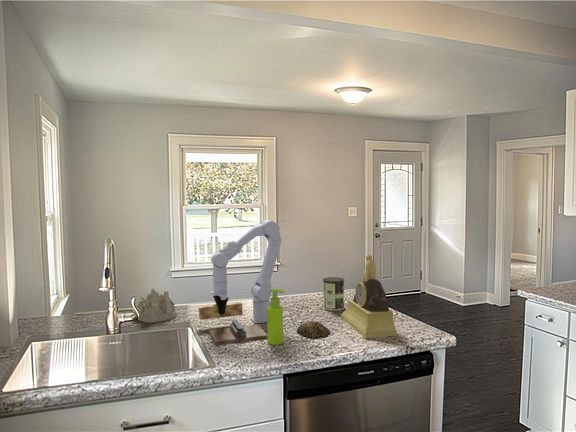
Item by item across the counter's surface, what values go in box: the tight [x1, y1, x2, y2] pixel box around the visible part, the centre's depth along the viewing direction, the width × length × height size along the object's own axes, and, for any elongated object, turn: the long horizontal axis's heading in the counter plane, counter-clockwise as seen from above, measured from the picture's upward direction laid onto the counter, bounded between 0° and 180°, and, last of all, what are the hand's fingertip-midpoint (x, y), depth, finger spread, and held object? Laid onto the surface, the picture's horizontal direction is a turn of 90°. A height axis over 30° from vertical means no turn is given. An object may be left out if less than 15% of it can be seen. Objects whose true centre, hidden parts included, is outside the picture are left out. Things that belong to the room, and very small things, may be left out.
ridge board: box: [209, 319, 268, 346], centre depth 170 cm, size 20×15×4 cm
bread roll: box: [296, 320, 331, 339], centre depth 172 cm, size 13×12×5 cm
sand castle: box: [136, 287, 178, 323], centre depth 197 cm, size 16×16×15 cm
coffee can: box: [322, 276, 345, 312], centre depth 208 cm, size 10×10×14 cm
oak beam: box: [198, 301, 244, 321], centre depth 183 cm, size 18×3×5 cm, turn 109°
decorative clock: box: [340, 254, 397, 339], centre depth 178 cm, size 28×13×30 cm, turn 12°
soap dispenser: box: [266, 288, 286, 346], centre depth 161 cm, size 6×7×20 cm
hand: (221, 312), depth 183 cm, fingers closed on oak beam, 3 cm apart
